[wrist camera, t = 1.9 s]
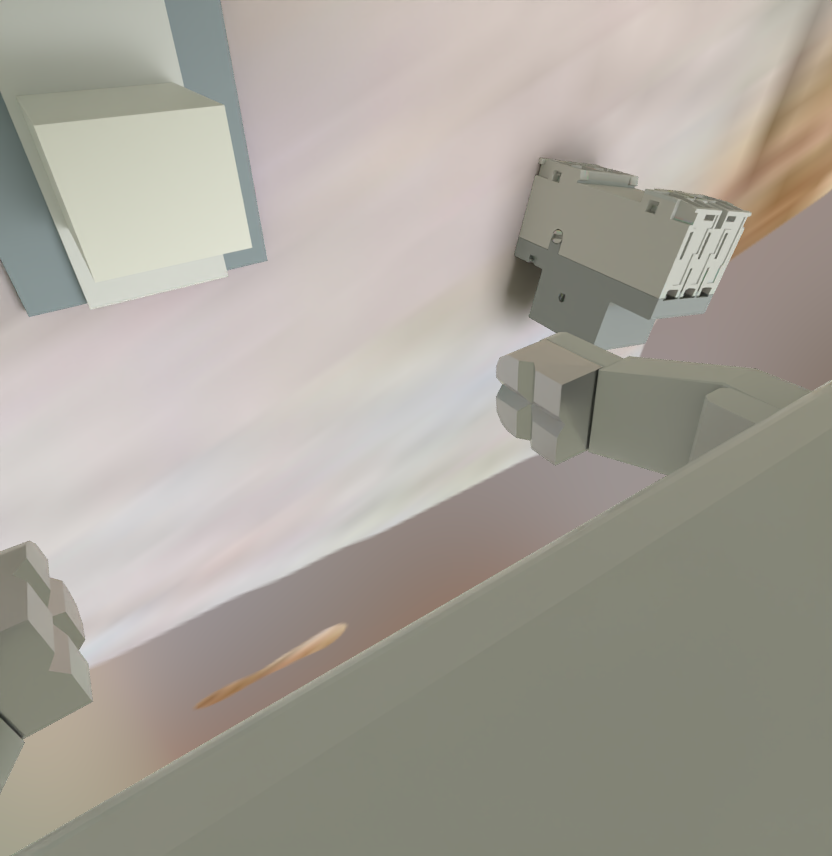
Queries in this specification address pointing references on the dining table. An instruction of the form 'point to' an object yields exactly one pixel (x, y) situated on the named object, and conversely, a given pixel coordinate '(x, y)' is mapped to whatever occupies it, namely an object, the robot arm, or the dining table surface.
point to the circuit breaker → (621, 252)
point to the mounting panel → (120, 151)
